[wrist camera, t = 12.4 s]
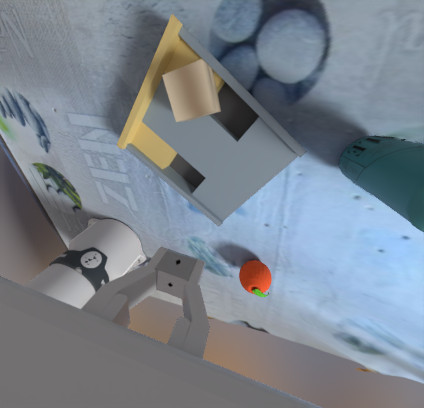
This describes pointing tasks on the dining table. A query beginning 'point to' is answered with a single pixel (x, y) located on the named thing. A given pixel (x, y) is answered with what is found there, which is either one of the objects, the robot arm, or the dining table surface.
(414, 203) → the beverage bottle
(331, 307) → the dining table surface
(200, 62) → the cube
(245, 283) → the clementine
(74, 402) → the robot arm
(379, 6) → the dining table surface
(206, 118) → the tray
